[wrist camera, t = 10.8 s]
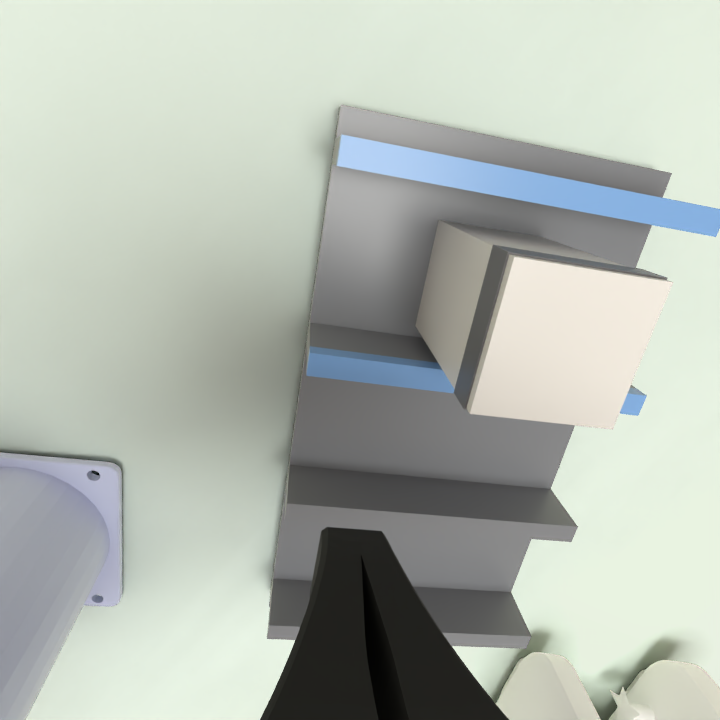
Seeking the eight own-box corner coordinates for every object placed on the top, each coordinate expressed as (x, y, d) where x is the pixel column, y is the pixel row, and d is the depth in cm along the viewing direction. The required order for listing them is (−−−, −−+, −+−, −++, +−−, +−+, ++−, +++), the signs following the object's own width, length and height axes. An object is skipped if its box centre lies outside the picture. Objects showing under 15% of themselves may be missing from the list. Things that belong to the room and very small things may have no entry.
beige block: (413, 326, 19) (467, 415, 12) (437, 218, 17) (512, 253, 11) (513, 340, 19) (613, 431, 13) (544, 236, 18) (676, 280, 11)
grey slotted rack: (270, 589, 25) (263, 668, 21) (339, 107, 17) (348, 93, 13) (494, 601, 26) (525, 675, 23) (653, 172, 18) (742, 176, 15)
